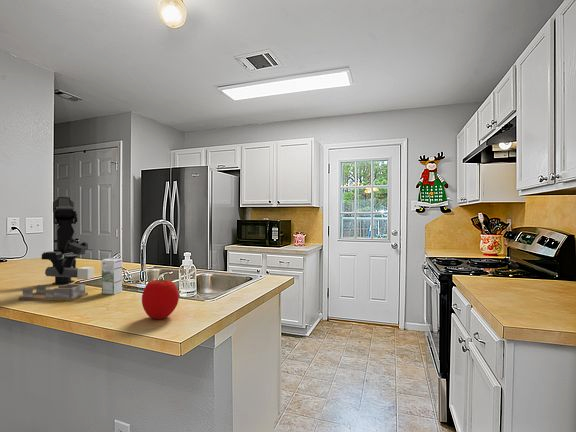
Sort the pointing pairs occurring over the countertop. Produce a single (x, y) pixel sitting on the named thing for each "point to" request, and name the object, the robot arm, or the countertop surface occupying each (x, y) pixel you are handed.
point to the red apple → (160, 298)
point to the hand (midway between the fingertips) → (64, 273)
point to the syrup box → (111, 276)
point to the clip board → (55, 293)
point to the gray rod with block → (71, 272)
